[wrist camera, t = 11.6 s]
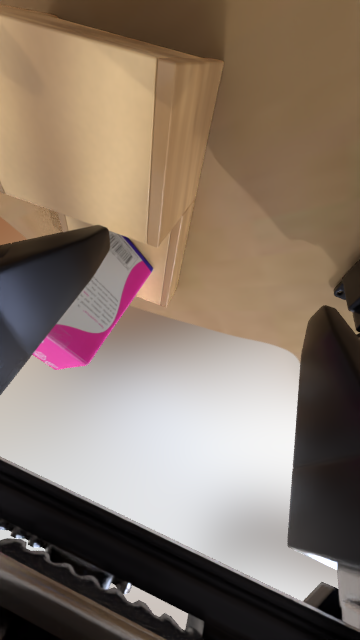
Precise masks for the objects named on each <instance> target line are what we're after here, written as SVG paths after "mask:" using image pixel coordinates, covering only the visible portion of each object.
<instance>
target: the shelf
mask: <svg viewBox="0 0 360 640" xmlns="http://www.w3.org/2000/svg"><path fill="white" fill-rule="evenodd" d="M223 64H224V62H223V61H221V60H217V59H214V58H201V57H197V56H194V55H190V54H186V53H183V52H179V51H176V50H172V49H168V48H165V47H161V46H157V45H154V44H150V43H146V42H143V41H139V40H135V39H132V38H128V37H124V36H121V35H117V34H113V33H110V32H106V31H102V30H99V29H95V28H91V27H88V26H84V25H80V24H77V23H73V22H69V21H66V20H62V19H58V17H57V16H56V15H52V14H49V13H44V12H38V11H33V10H27V9H22V8H16V7H10V6H5V5H0V192H1V193H4V194H7V195H9V196H12V197H15V198H18V199H21V200H24V201H26V202H29V203H32V204H35V205H38V206H41V207H43V208H46V209H49V210H52V211H55V212H57V213H58V217H59V220H60V224H61V228H62V232H66V231H71V230H75V229H80V228H85V227H89V226H94V225H101V226H104V227H107V228H108V230H109V231H111V232H114V233H117V234H120V235H123V236H125V237H128V238H129V240H130V241H131V242H132V243H133V244H134V246H135V247H136V248H137V249H138V250H139V252H140V253H141V254H142V255H143V256H144V258H145V259H146V260H147V261H148V263H149V264H150V265H151V266H152V268H153V271H152V273H151V274H150V275H149V277H148V278H147V280H146V281H145V283H144V284H143V286H142V287H141V288H140V290H139V291H138V293H137V294H136V296H137V297H140V298H142V299H145V300H148V301H150V302H153V303H156V304H158V305H161V306H164V307H167V306H168V304H169V302H170V300H171V298H172V296H173V295H174V293H175V291H176V289H177V285H178V280H179V275H180V270H181V265H182V261H183V256H184V251H185V246H186V241H187V237H188V232H189V227H190V222H191V217H192V213H193V208H194V203H195V198H196V194H197V189H198V184H199V179H200V174H201V170H202V165H203V160H204V155H205V150H206V146H207V141H208V136H209V131H210V126H211V122H212V117H213V112H214V107H215V102H216V98H217V93H218V88H219V83H220V79H221V74H222V69H223Z"/></svg>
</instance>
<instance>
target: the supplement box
mask: <svg viewBox="0 0 360 640" xmlns="http://www.w3.org/2000/svg"><path fill="white" fill-rule="evenodd" d="M109 236H110V250H109V252H108V253H107V255H106V257H105V258H104V260H103V262H102V263H101V265H100V267H99V268H98V270H97V272H96V273H95V275H94V276H93V278H92V279H91V280H90V282H89V283H88V284H87V286H86V287H85V288H84V289H83V291H82V292H81V293H80V294H79V296H78V297H77V298H76V300H75V301H74V302H73V303H72V305H71V306H70V307H69V308H68V310H67V311H66V312H65V314H64V315H63V316H62V317H61V319H60V320H59V321H58V322H57V324H56V325H55V326H54V327H53V329H52V330H51V331H50V333H49V334H48V335H47V336H46V338H45V339H44V340H43V341H42V343H41V344H40V345H39V347H38V348H37V349H36V350H35V352H34V353H33V354H32V355H34V356H35V357H37V358H38V359H40V360H41V361H43V362H44V363H46V364H47V365H49V366H50V367H52V368H53V369H55V370H59V369H64V368H70V367H78V366H85V365H88V364H89V362H90V361H91V360H92V358H93V357H94V355H95V354H96V353H97V351H98V350H99V348H100V347H101V345H102V343H103V342H104V341H105V339H106V338H107V336H108V335H109V333H110V332H111V331H112V329H113V328H114V326H115V325H116V323H117V322H118V320H119V319H120V317H121V316H122V315H123V313H124V312H125V310H126V309H127V307H128V306H129V304H130V303H131V301H132V300H133V299H134V297H135V296H136V294H137V293H138V291H139V290H140V288H141V287H142V286H143V284H144V283H145V281H146V280H147V278H148V277H149V275H150V274H151V273H152V271H153V268H152V266H151V265H150V264H149V263H148V261H147V260H146V259H145V258H144V256H143V255H142V254H141V253H140V252H139V250H138V249H137V248H136V247H135V246H134V244H133V243H132V242H131V241H130V240H129V238H128V237H125V236H123V235H120V234H117V233H114V232H111V231H109Z"/></svg>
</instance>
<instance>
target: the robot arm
mask: <svg viewBox="0 0 360 640" xmlns="http://www.w3.org/2000/svg"><path fill="white" fill-rule="evenodd" d="M109 250H110V236H109V230H108V228H107V227H104V226H101V225H94V226H89V227H85V228H80V229H75V230H71V231H66V232H61V233H56V234H52V235H47V236H42V237H37V238H33V239H28V240H23V241H19V242H14V243H12V244H11V243H9V244H4V245H0V395H1V394H2V392H3V391H4V390H5V388H6V387H7V386H8V385H9V384H10V382H11V381H12V380H13V379H14V377H15V376H16V375H17V373H18V372H19V371H20V369H21V368H22V367H23V366H24V365H25V363H26V362H27V361H28V359H29V358H30V356H31V355H32V354H33V353H34V352H35V350H36V349H37V348H38V347H39V345H40V344H41V343H42V341H43V340H44V339H45V338H46V336H47V335H48V334H49V333H50V331H51V330H52V329H53V327H54V326H55V325H56V324H57V322H58V321H59V320H60V319H61V317H62V316H63V315H64V314H65V312H66V311H67V310H68V308H69V307H70V306H71V305H72V303H73V302H74V301H75V300H76V298H77V297H78V296H79V294H80V293H81V292H82V291H83V289H84V288H85V287H86V286H87V284H88V283H89V282H90V280H91V279H92V278H93V276H94V275H95V273H96V272H97V270H98V268H99V267H100V265H101V263H102V262H103V260H104V258H105V257H106V255H107V253H108V252H109ZM339 291H343V292H340V293H339ZM334 295H335V296H336V297H339V298H341V299H344V300H346V301H347V306H348V310H349V311H351V312H353V317H354V322H355V327H356V331H358V332H360V260H359V261H358V262H357V263H356V264H355V265H354V266H353V267H352V268H351V269H350V270H349V271H348V273H347V274H346V275H345V276H344V277H343V278H342V281H341V282H340V283H339V285H338V286H337V287H336V288H335V289H334ZM294 448H295V449H294V460H293V472H292V487H291V499H290V514H289V528H288V547H289V548H291V549H294V550H296V551H298V552H300V553H302V554H304V555H306V556H309V557H311V558H313V559H315V560H317V561H320V562H322V563H324V564H326V565H328V566H330V567H333V568H335V569H337V573H338V588H339V589H337V588H335V587H333V586H330V585H328V584H326V583H323V582H321V583H320V584H319V585H318V586H317V587H316V588H315V590H313V591H312V593H311V594H310V595H309V596H308V597H307V598H306V599H305V600H304V601H303V602H302V601H300V600H298V599H295V598H294V597H292V596H290V595H288V594H285V593H283V592H281V591H279V590H277V589H275V588H273V587H271V586H269V585H267V584H265V583H263V582H260V581H258V580H256V579H254V578H252V577H250V576H248V575H246V574H244V573H242V572H240V571H238V570H235V569H233V568H231V567H229V566H227V565H225V564H223V563H221V562H219V561H216V560H215V559H213V558H210V557H208V556H206V555H204V554H202V553H200V552H198V551H196V550H194V549H192V548H190V547H188V546H185V545H183V544H181V543H179V542H177V541H175V540H173V539H171V538H169V537H167V536H165V535H163V534H160V533H158V532H156V531H154V530H152V529H150V528H148V527H146V526H144V525H142V524H140V523H137V522H135V521H133V520H131V519H129V518H127V517H125V516H123V515H121V514H119V513H117V512H114V511H113V510H110V509H108V508H106V507H104V506H102V505H100V504H98V503H96V502H94V501H92V500H90V499H87V498H85V497H83V496H81V495H79V494H77V493H75V492H73V491H71V490H69V489H67V488H64V487H63V486H60V485H58V484H56V483H54V482H52V481H50V480H48V479H46V478H44V477H42V476H40V475H38V474H35V473H33V472H31V471H29V470H27V469H25V468H23V467H21V466H19V465H17V464H15V463H12V462H10V461H8V460H6V459H4V458H2V457H0V529H2V530H9V531H11V532H12V533H11V536H12V537H14V538H25V539H27V540H28V545H30V546H32V547H42V548H44V549H45V552H44V551H30V550H28V549H26V542H24V541H23V540H21V539H3V540H0V640H360V333H359V334H357V335H356V334H355V333H354V332H353V330H352V329H351V328H350V326H349V325H348V324H347V323H346V321H345V320H344V319H343V317H342V316H341V315H340V314H339V312H338V311H337V310H336V309H335V308H332V307H329V306H327V305H325V306H322V307H321V308H320V309H319V310H318V311H317V312H316V313H315V314H314V315H313V316H312V317H311V318H310V320H309V322H308V325H307V330H306V335H305V339H304V344H303V349H302V354H301V363H300V379H299V391H298V406H297V418H296V433H295V446H294ZM111 583H113V584H114V585H116V587H117V589H116V588H111V589H109V586H110V584H111ZM132 585H133V586H135V587H137V588H139V589H141V590H143V591H145V592H147V593H149V594H151V595H153V596H155V597H157V598H159V599H161V600H163V601H165V602H167V603H169V604H171V605H173V606H175V607H177V608H178V609H180V610H182V611H184V612H186V613H188V619H187V624H186V629H185V630H183V629H181V628H180V627H179V626H178V624H177V623H176V622H175V621H174V620H173V618H172V617H171V616H169V615H167V614H165V613H164V614H163V615H162V616H161V617H158V616H156V615H154V614H153V613H152V611H151V610H150V609H149V607H148V606H147V605H146V604H145V603H144V602H142V601H140V600H138V601H137V602H134V603H131V602H129V601H127V600H126V598H125V597H124V595H123V594H126V593H129V592H130V589H131V586H132Z"/></svg>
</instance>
